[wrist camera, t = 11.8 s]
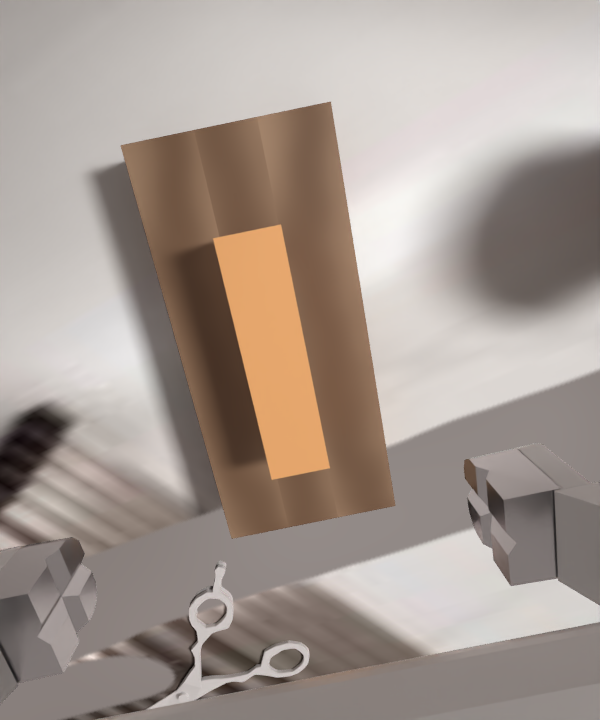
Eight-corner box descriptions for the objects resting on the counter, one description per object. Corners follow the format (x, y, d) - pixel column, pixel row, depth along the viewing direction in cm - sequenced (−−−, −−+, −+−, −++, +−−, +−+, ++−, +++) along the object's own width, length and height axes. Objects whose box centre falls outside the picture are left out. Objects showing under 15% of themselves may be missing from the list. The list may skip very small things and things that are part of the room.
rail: (324, 117, 24) (330, 101, 21) (383, 479, 30) (395, 505, 27) (139, 156, 24) (120, 145, 21) (236, 509, 30) (231, 538, 27)
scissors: (331, 644, 33) (160, 798, 36) (330, 635, 34) (162, 787, 37) (219, 565, 31) (47, 737, 34) (221, 557, 32) (52, 726, 35)
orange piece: (280, 226, 25) (280, 224, 19) (319, 420, 28) (329, 468, 23) (227, 237, 25) (213, 238, 19) (272, 430, 29) (271, 479, 23)
